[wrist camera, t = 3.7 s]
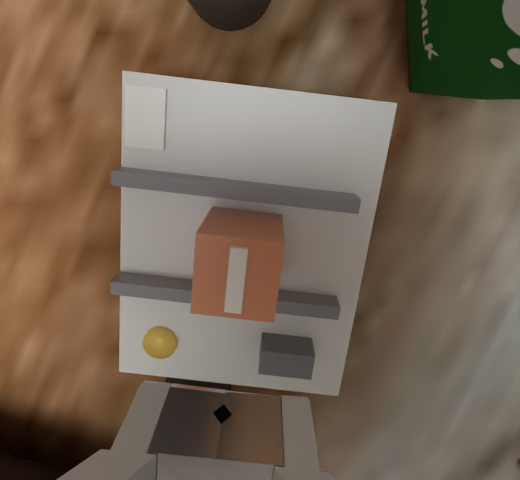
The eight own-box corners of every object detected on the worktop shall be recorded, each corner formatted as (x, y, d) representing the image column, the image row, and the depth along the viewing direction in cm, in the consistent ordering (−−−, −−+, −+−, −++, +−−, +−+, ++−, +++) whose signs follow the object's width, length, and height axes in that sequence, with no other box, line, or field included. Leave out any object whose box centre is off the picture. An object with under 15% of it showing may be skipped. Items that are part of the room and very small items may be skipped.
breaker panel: (373, 104, 20) (410, 102, 15) (327, 351, 24) (343, 419, 19) (150, 78, 20) (107, 66, 15) (142, 330, 24) (106, 392, 19)
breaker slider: (282, 214, 18) (285, 245, 14) (273, 279, 18) (274, 325, 14) (212, 206, 18) (194, 234, 14) (206, 271, 18) (189, 316, 14)
